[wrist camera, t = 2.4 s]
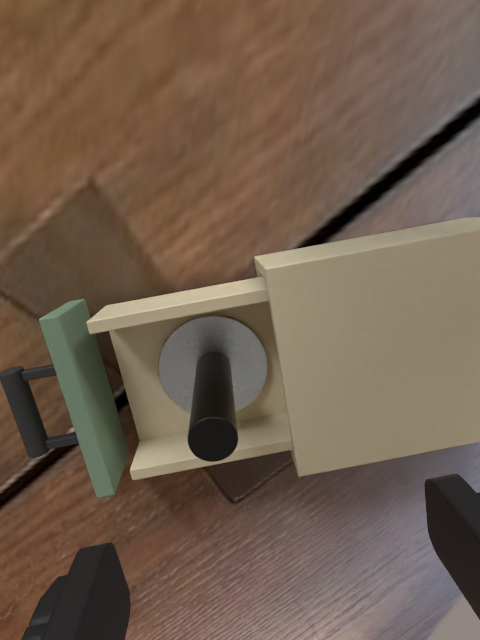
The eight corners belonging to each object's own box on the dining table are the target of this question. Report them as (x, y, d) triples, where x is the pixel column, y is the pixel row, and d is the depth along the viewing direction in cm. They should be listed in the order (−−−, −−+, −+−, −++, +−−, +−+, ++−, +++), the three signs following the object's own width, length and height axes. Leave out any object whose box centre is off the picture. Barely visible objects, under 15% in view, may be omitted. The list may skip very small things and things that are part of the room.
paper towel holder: (172, 423, 29) (152, 521, 19) (147, 324, 27) (112, 382, 17) (274, 403, 29) (302, 491, 20) (257, 304, 27) (280, 350, 18)
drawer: (61, 465, 30) (33, 511, 26) (7, 312, 27) (-36, 333, 22) (298, 420, 30) (313, 457, 26) (274, 263, 27) (287, 272, 22)
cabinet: (281, 424, 31) (298, 477, 25) (253, 256, 28) (265, 268, 21) (470, 388, 32) (535, 431, 25) (467, 217, 28) (541, 217, 22)
